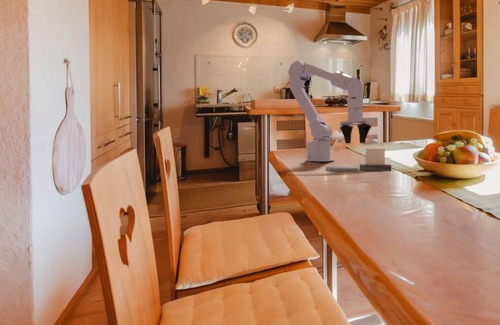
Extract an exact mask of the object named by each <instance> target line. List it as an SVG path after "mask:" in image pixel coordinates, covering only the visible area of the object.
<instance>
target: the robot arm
mask: <svg viewBox="0 0 500 325" xmlns="http://www.w3.org/2000/svg"><path fill="white" fill-rule="evenodd" d="M287 74H288V76H289V77H288V78H289V89H290V91H291V93H292V95H293V96H294V98H295V100H296V101H297V103H298V105H299V108H300V109H301V110H302V112H303V114H304V115H305V117H306V120H307V121H308V126H309V128H310V135H311V137H312V140H309V141H308V142H307V145H306V159H305V161H306V162H335V159H331V139H330V137H331V136H332V133H333V131H332V128H331V126H330V125H327V124H326V121H325V120H324V119H323V118H322V117H321V116H320V114H319V112H318V111H317V110H316V108H315V105H314V104H313V102H312V101H311V99H310V96H309V95H308V94H307V92H306V91H305V89H304V85H305V83H306V81H307V80H308V79H309V77H310V78H311V77H314V76H316V77H319V78H322V79H324V80H328V81H329V82H330V84H331V86H333V87H335V88H338V89H341V90H343V91H347V120H344V121H343V120H342V121H340V123H339V124H340V125H339V129H340V131H341V133H342V135H343V139H344V142H345V144H351V142H352V132H353V129H354V126H356V127H357V129H358V135H359V144H365V143H366V140H367V138H368V134H369V131H370V130H371V129H372V119H371V118H365V119H363V118H364V117H363V114H364V113H363V112H364V110H363V109H364V107H363V104H364V103H363V102H364V96H363V92H364V89H365V84H364V83H363V81H361V80H360V79H358V78H355V76H353V75H351V76H349V75H348V74H345V72H344V71H335V72H331V71H328V70H325V69H323V68H321V67H318V66H317V65H314V64H311V63H307V62H301V61H300V60H296V61H293V62H292V63H291V64H290V66H289V68H288V71H287Z"/></svg>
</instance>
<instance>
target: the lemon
mask: <svg viewBox="0 0 500 325" xmlns="http://www.w3.org/2000/svg"><path fill="white" fill-rule="evenodd" d="M425 148H426V147H424V148H423V149H421V150H419V152H418V153H417V156H416V158H417V157H419V158H424V150H425ZM417 165H418V166H419V168H422V167H421V166H420V165H419V164H418V163H417Z"/></svg>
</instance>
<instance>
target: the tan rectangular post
mask: <svg viewBox="0 0 500 325" xmlns="http://www.w3.org/2000/svg"><path fill="white" fill-rule="evenodd" d="M385 149H386V148H384V147H383V148H378V147H377V148H365V164H366V165H385V164H386V162H385V158H386V157H385V156H386V155H385V154H386V153H385Z"/></svg>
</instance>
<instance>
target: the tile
mask: <svg viewBox="0 0 500 325" xmlns="http://www.w3.org/2000/svg"><path fill="white" fill-rule="evenodd" d="M325 168H326V170H327V171H328V172H359V171H358V169H359V167H355V166H352V165H351V166H350V165H349V166H347V165H346V166H345V165H344V166H342V165H341V166H340V165H339V166H336V165H335V166H325Z"/></svg>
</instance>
